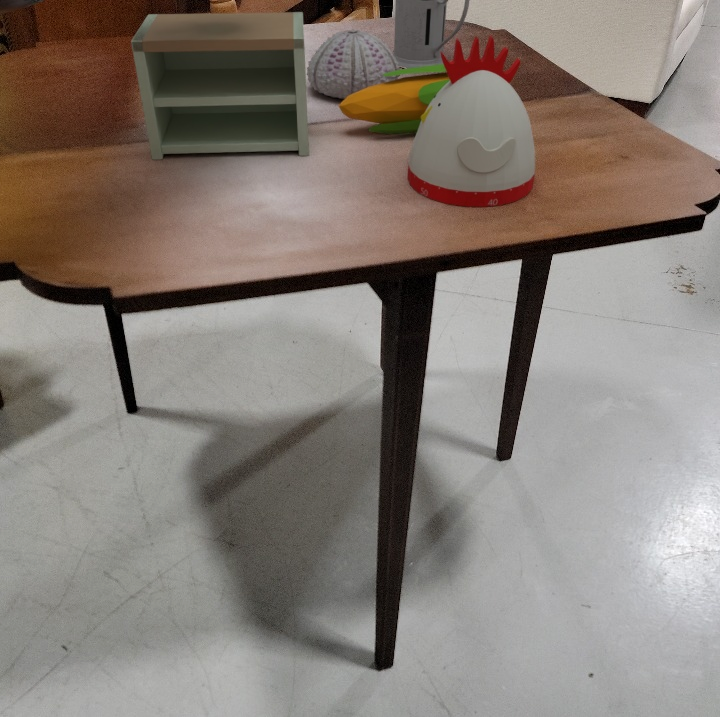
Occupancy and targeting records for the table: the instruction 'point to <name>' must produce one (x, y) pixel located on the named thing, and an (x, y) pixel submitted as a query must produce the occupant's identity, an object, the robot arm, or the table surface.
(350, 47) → the sea urchin shell
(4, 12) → the robot arm
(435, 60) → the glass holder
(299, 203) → the table surface
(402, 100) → the corn
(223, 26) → the rack
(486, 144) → the kitchen timer
